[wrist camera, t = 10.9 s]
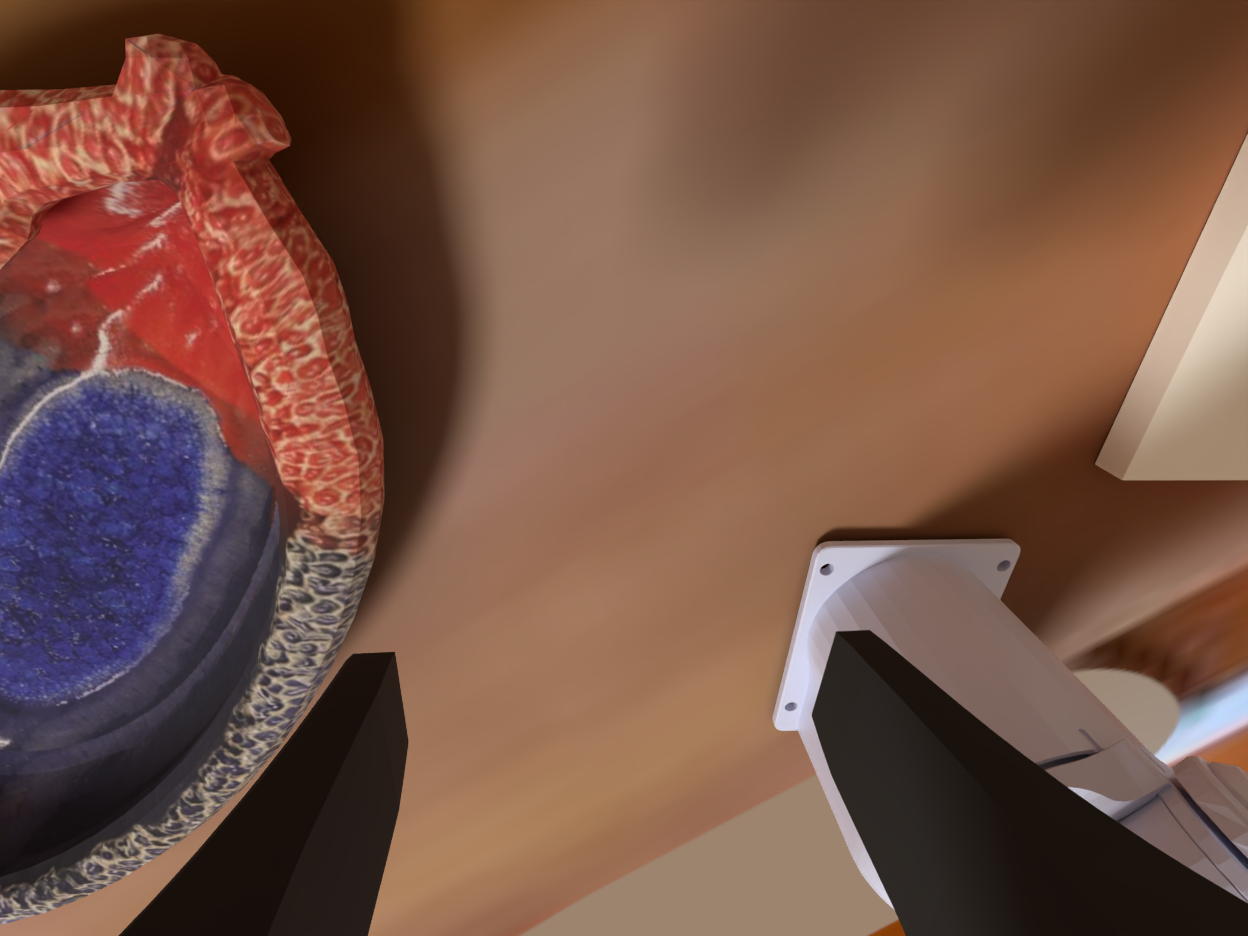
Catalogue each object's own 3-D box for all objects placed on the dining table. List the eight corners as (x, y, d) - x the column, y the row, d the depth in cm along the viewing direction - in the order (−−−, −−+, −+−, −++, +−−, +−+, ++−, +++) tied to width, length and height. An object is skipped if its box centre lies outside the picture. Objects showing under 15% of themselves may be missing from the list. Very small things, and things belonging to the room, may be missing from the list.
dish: (-321, 738, 21) (-545, 894, 17) (-30, -175, 12) (-356, -353, 8) (153, 866, 27) (78, 1007, 23) (589, 314, 18) (604, 370, 14)
